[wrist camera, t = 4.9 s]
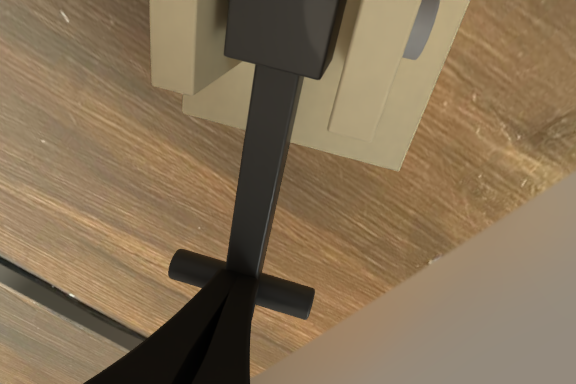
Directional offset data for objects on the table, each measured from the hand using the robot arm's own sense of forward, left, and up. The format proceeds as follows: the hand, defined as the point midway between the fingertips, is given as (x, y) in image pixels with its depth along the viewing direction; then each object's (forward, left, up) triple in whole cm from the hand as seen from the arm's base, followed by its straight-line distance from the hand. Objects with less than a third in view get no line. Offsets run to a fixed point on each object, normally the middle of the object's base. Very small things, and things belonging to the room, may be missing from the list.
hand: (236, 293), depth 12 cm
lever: (0, -5, -2) cm, 5 cm away
